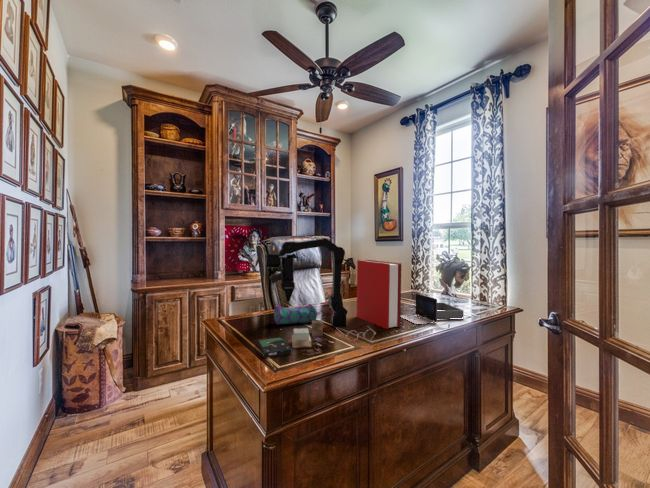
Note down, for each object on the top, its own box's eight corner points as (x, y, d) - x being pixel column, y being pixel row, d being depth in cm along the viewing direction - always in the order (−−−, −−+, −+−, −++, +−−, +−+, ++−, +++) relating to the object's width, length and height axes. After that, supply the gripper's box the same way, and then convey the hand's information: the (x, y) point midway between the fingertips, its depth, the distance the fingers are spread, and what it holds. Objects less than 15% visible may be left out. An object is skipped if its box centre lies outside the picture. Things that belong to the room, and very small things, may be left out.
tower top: (307, 335, 127) (307, 328, 127) (308, 340, 121) (308, 332, 121) (293, 335, 126) (293, 328, 126) (294, 340, 120) (294, 333, 120)
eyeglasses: (344, 343, 126) (344, 331, 126) (331, 330, 144) (331, 319, 144) (378, 340, 130) (378, 329, 130) (362, 327, 148) (362, 317, 148)
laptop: (397, 316, 169) (397, 294, 169) (415, 315, 173) (416, 293, 173) (416, 325, 152) (417, 300, 152) (436, 323, 156) (437, 299, 156)
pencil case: (311, 319, 162) (311, 301, 162) (317, 323, 154) (317, 305, 153) (273, 322, 154) (273, 304, 154) (277, 327, 146) (277, 308, 146)
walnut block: (321, 333, 138) (321, 320, 138) (322, 336, 134) (322, 322, 133) (311, 333, 137) (311, 320, 137) (312, 336, 133) (312, 323, 133)
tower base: (309, 341, 128) (309, 334, 128) (311, 347, 120) (311, 340, 120) (291, 342, 126) (291, 335, 126) (292, 348, 119) (292, 341, 119)
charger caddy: (443, 310, 185) (443, 302, 185) (463, 319, 164) (463, 310, 164) (416, 311, 182) (416, 303, 182) (434, 320, 162) (434, 311, 162)
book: (400, 327, 148) (401, 263, 148) (388, 329, 144) (389, 263, 144) (366, 314, 172) (367, 259, 172) (355, 316, 168) (355, 260, 167)
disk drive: (292, 356, 112) (281, 342, 126) (292, 348, 112) (281, 336, 126) (264, 360, 108) (257, 346, 121) (264, 352, 108) (257, 339, 121)
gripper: (271, 266, 152) (271, 296, 153) (269, 269, 134) (270, 304, 134) (293, 265, 154) (293, 295, 154) (294, 269, 135) (294, 303, 136)
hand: (287, 299), depth 144 cm, fingers open, 9 cm apart
